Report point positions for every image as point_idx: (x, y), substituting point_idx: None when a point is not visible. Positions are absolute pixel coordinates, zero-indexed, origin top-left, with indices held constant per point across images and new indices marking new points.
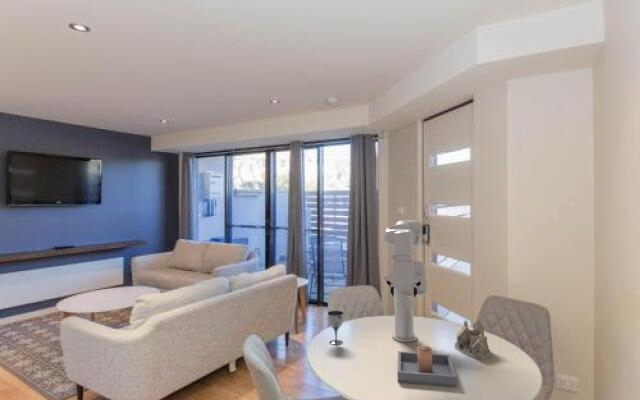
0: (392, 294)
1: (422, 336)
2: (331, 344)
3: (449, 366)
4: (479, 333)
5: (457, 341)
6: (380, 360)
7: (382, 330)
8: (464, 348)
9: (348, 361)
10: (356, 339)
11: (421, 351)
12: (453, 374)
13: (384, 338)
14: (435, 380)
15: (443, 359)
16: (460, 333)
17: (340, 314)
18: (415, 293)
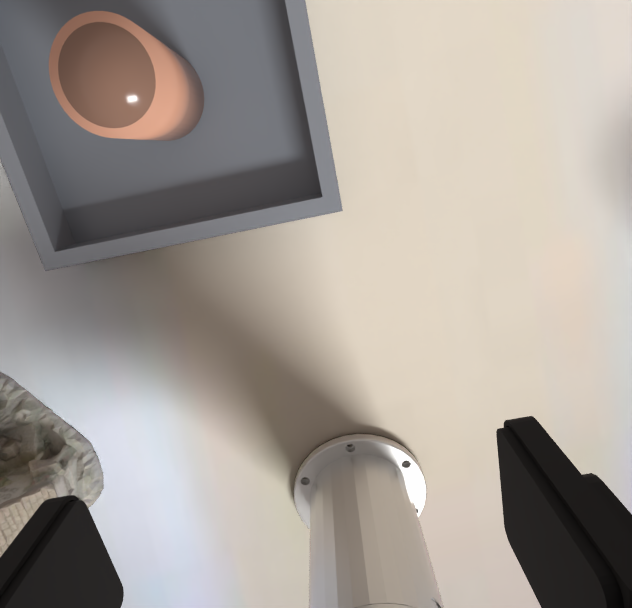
0: (540, 432)
1: (274, 529)
2: None
3: (15, 130)
4: None
5: (59, 469)
6: (435, 161)
7: (487, 537)
8: (32, 434)
9: (624, 71)
10: (614, 386)
11: (117, 15)
12: None
13: (460, 447)
14: None
15: (85, 243)
16: (22, 512)
17: None
18: (2, 554)
